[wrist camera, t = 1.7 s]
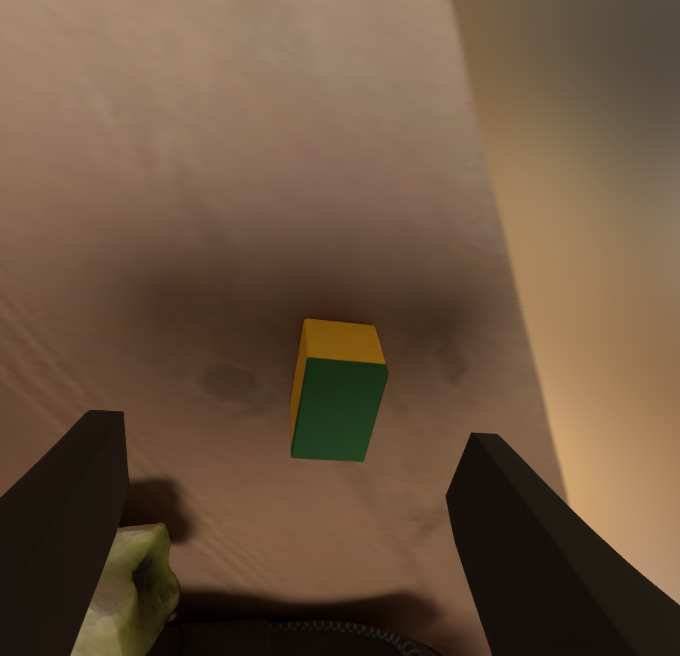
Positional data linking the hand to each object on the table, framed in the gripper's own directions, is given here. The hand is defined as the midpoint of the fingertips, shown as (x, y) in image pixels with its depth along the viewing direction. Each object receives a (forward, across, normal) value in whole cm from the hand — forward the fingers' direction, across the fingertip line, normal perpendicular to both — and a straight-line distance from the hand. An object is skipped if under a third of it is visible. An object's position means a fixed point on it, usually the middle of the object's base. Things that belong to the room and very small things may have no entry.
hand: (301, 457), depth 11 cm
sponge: (+8, -2, +3) cm, 8 cm away
